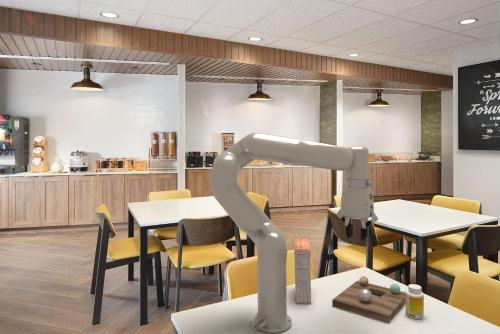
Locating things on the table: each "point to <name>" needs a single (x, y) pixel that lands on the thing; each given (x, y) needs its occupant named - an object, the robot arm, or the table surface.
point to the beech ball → (363, 280)
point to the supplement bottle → (414, 302)
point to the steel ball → (365, 295)
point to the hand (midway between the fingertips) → (356, 237)
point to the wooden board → (371, 302)
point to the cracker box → (302, 271)
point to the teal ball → (395, 288)
